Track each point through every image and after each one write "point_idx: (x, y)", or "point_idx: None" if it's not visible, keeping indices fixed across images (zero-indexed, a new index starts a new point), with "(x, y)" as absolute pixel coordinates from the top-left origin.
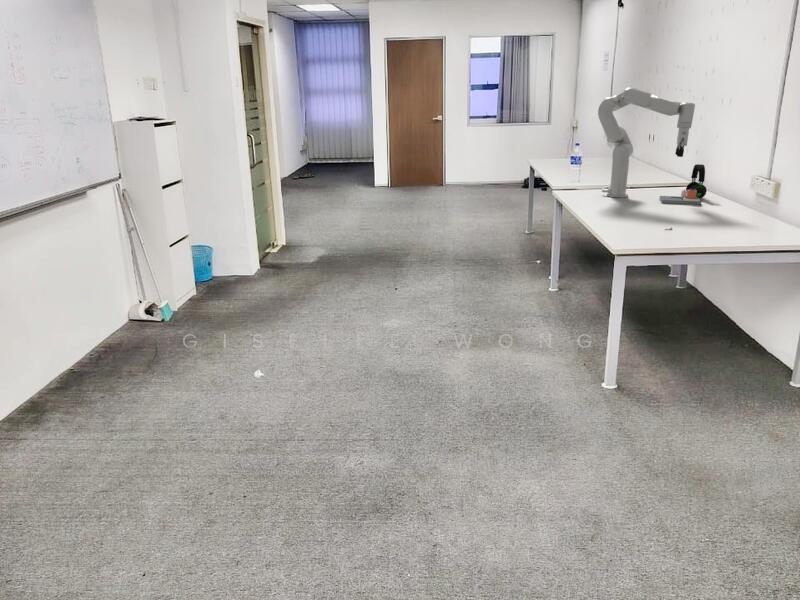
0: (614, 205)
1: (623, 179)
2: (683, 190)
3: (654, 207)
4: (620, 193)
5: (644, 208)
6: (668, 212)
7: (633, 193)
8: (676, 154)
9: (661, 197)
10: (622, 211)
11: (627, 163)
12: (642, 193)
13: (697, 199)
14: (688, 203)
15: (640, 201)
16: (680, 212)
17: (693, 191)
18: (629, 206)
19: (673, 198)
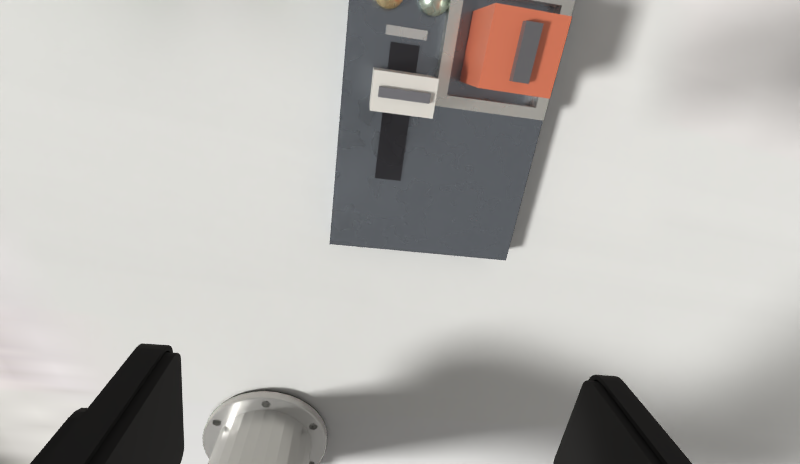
0: None
1: None
2: (403, 102)
3: (624, 307)
4: (307, 444)
5: (646, 354)
6: (773, 264)
7: (128, 350)
8: (183, 440)
9: (403, 245)
10: (703, 441)
11: None
12: (103, 300)
13: (570, 14)
14: None
15: (434, 347)
16: (790, 202)
17: (560, 50)
18: None
19: (437, 173)
